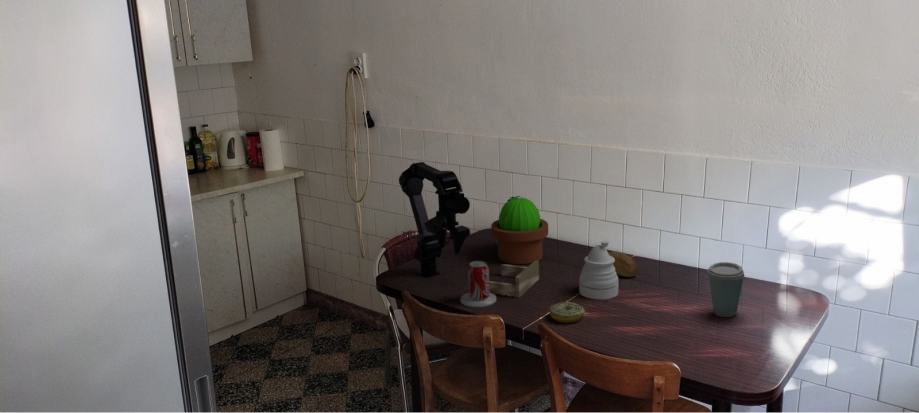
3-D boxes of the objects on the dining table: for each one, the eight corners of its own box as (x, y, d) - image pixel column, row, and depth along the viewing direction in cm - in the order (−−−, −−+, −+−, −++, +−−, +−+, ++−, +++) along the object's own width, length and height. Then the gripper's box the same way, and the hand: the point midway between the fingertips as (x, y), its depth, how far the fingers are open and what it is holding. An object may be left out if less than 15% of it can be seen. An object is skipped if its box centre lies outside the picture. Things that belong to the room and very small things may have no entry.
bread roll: (629, 282, 242) (629, 260, 239) (592, 273, 251) (592, 253, 249) (642, 274, 248) (643, 253, 246) (605, 266, 258) (605, 246, 256)
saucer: (453, 299, 234) (453, 297, 234) (482, 290, 240) (482, 288, 240) (474, 310, 224) (474, 308, 224) (503, 300, 231) (503, 298, 230)
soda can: (481, 303, 228) (479, 268, 224) (464, 298, 232) (463, 264, 229) (494, 296, 233) (493, 262, 230) (477, 292, 237) (476, 258, 234)
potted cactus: (551, 265, 261) (550, 201, 255) (493, 268, 262) (491, 204, 255) (545, 247, 282) (544, 187, 276) (491, 249, 283) (489, 190, 276)
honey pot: (621, 287, 237) (622, 237, 233) (613, 301, 226) (613, 249, 221) (585, 283, 243) (584, 234, 238) (574, 296, 231) (574, 245, 227)
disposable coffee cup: (738, 322, 206) (741, 275, 202) (701, 316, 212) (703, 270, 208) (745, 309, 215) (748, 264, 211) (709, 303, 220) (711, 259, 216)
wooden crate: (481, 291, 239) (480, 272, 237) (502, 274, 255) (502, 256, 253) (519, 297, 233) (518, 277, 231) (539, 279, 248) (538, 260, 247)
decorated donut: (590, 316, 216) (590, 304, 215) (571, 327, 209) (571, 316, 208) (563, 308, 223) (563, 297, 222) (543, 319, 216) (543, 307, 215)
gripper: (413, 207, 242) (415, 249, 246) (442, 217, 227) (444, 262, 231) (439, 201, 248) (442, 243, 252) (470, 211, 233) (472, 255, 237)
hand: (449, 251), depth 243 cm, fingers open, 9 cm apart
